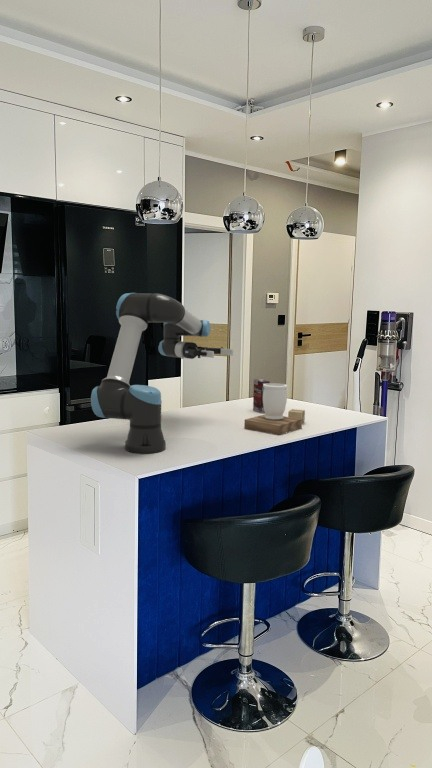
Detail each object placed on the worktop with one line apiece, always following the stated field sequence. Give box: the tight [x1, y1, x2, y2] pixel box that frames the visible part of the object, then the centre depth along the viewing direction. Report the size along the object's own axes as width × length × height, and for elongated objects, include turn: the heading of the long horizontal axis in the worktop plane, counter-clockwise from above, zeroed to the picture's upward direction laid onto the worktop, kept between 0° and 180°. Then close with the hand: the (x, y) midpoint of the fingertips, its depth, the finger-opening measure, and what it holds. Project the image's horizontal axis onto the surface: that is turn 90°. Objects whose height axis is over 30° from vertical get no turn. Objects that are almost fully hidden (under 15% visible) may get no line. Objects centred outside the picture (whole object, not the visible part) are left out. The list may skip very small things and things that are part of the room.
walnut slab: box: [243, 413, 303, 436], centre depth 263 cm, size 18×18×4 cm
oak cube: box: [287, 408, 306, 425], centre depth 274 cm, size 6×6×6 cm
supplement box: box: [252, 378, 271, 414], centre depth 300 cm, size 9×5×16 cm, turn 25°
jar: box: [263, 382, 288, 420], centre depth 265 cm, size 11×10×15 cm
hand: (223, 353), depth 264 cm, fingers open, 13 cm apart
